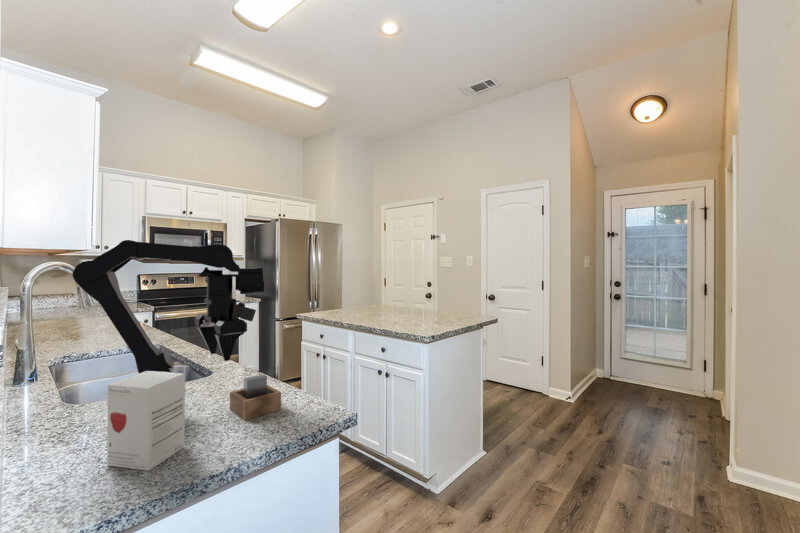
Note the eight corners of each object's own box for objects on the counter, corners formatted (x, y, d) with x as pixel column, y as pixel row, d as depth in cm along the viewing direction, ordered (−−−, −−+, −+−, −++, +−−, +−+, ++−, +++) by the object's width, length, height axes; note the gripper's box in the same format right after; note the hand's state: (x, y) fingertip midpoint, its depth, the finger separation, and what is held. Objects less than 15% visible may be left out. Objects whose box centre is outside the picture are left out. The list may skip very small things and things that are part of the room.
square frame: (244, 421, 86) (244, 401, 86) (229, 409, 92) (229, 391, 92) (280, 410, 92) (280, 392, 92) (264, 400, 98) (264, 383, 98)
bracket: (249, 416, 89) (249, 382, 89) (241, 409, 92) (241, 377, 92) (269, 410, 92) (269, 377, 92) (260, 404, 96) (260, 373, 96)
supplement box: (104, 466, 66) (104, 383, 66) (146, 442, 75) (146, 369, 75) (148, 472, 65) (148, 387, 65) (186, 447, 74) (186, 372, 74)
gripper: (268, 295, 92) (267, 358, 92) (237, 290, 105) (237, 345, 105) (221, 298, 84) (220, 367, 84) (194, 293, 97) (194, 352, 97)
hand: (219, 357), depth 93 cm, fingers open, 9 cm apart
